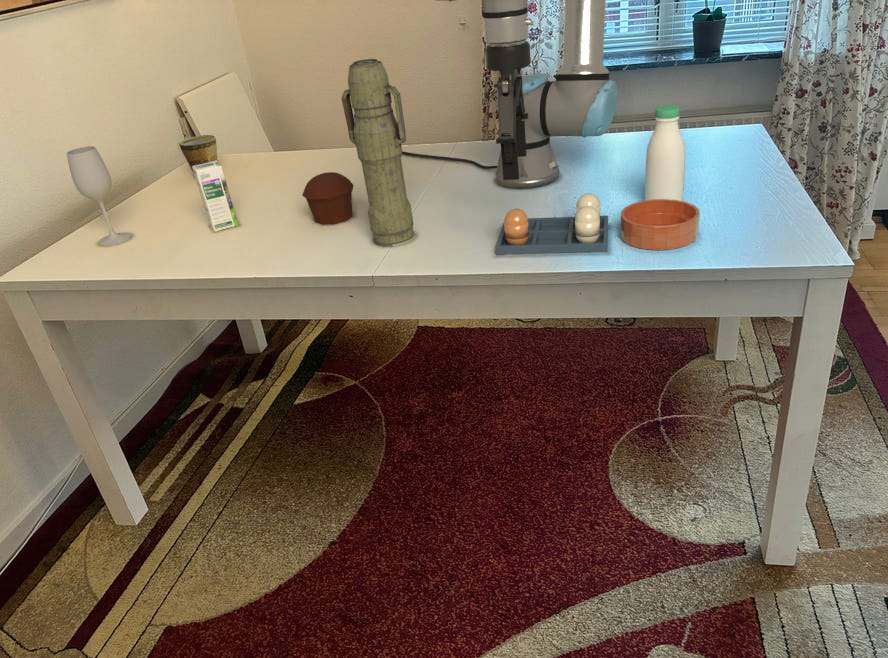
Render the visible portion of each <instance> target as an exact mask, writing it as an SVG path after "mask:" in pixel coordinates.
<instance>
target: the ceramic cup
mask: <svg viewBox="0 0 888 658" xmlns="http://www.w3.org/2000/svg"><path fill="white" fill-rule="evenodd" d="M178 145H179V149H180V151H181V152H182V155H183V156H184V158H185V159H186V161H187V164H188V166H189V168H190V170H191V171H192V174H193V176H194V177H195V175H194V172H193V169H192V166H195V165H200V164H204V163H208V162H213V161H216V160H217V161H218V146H217V138H216V136H215V135H212V134H203V135H196V136H191V137H188V138H185V139H182V140H180V141H179V142H178ZM218 162H219V161H218Z"/></svg>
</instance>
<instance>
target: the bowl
mask: <svg viewBox="0 0 888 658" xmlns="http://www.w3.org/2000/svg"><path fill="white" fill-rule="evenodd" d="M700 215H701V214H700V209H699V208H698V207H697V206H695V204H692V203H690V202H688V201H685V200H683V201H679V200H671V199H651V200H645V199H644V200H640V201H636V202H634V203H633V202H632V203H630V204H628V205H626V206H624V208H622V210H621V211H620V239H621V240H622V241H623V243H625V244H626V245H629V246H630V247H633V248H637V249H641V250H651V251H669V250H674V249H680V248H683V247H686V246H689V245H691V244H692V243H694V242H695V241H696V240H697V239H698V237H699V230H700V229H699V228H700Z"/></svg>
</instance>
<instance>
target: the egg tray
mask: <svg viewBox="0 0 888 658" xmlns="http://www.w3.org/2000/svg"><path fill="white" fill-rule="evenodd" d="M528 227H529V238H528V240H527V242H526V243H525V244H524V245H510V244H509V243H508V242H507V241H506V238H505V228H504V222H503V224H502V226H501V230H500V232H499V235H498V237H497V242H496V244H495V255H496V256H513V255H514V256H516V255H517V256H519V255H550V254H551V255H553V254H557V255H558V254H593V253H596V254H597V253H608V252H609V251H608V249H609V246H608V245H609V215H600V235H599V238H598V239H597V241H596V242H595V243H580V242H579V241H578V240H577V238H576V235H575V216H557V217H530V218H529V217H528Z"/></svg>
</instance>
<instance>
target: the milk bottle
mask: <svg viewBox="0 0 888 658" xmlns="http://www.w3.org/2000/svg"><path fill="white" fill-rule="evenodd" d="M680 112H681V109H680V106H678V105H675V104H674V105H673V104H664V105H659V106H657V107H656V108H655V111H654V115H655V118H654V119H655V122H656V123H655V127H654V129H653V132H652V134H651V136H650V139H649V141H648V144H647V147H646V155H645V174H644V175H645V176H644V177H645V178H644V184H645V185H644V201H645V200H651V199H671V200H679V201H684V189H685V173H686V171H685V170H686V169H685V168H686V145H685V140H684V138H683V136H682V133H681V131H680V127H679V119H680Z"/></svg>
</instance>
